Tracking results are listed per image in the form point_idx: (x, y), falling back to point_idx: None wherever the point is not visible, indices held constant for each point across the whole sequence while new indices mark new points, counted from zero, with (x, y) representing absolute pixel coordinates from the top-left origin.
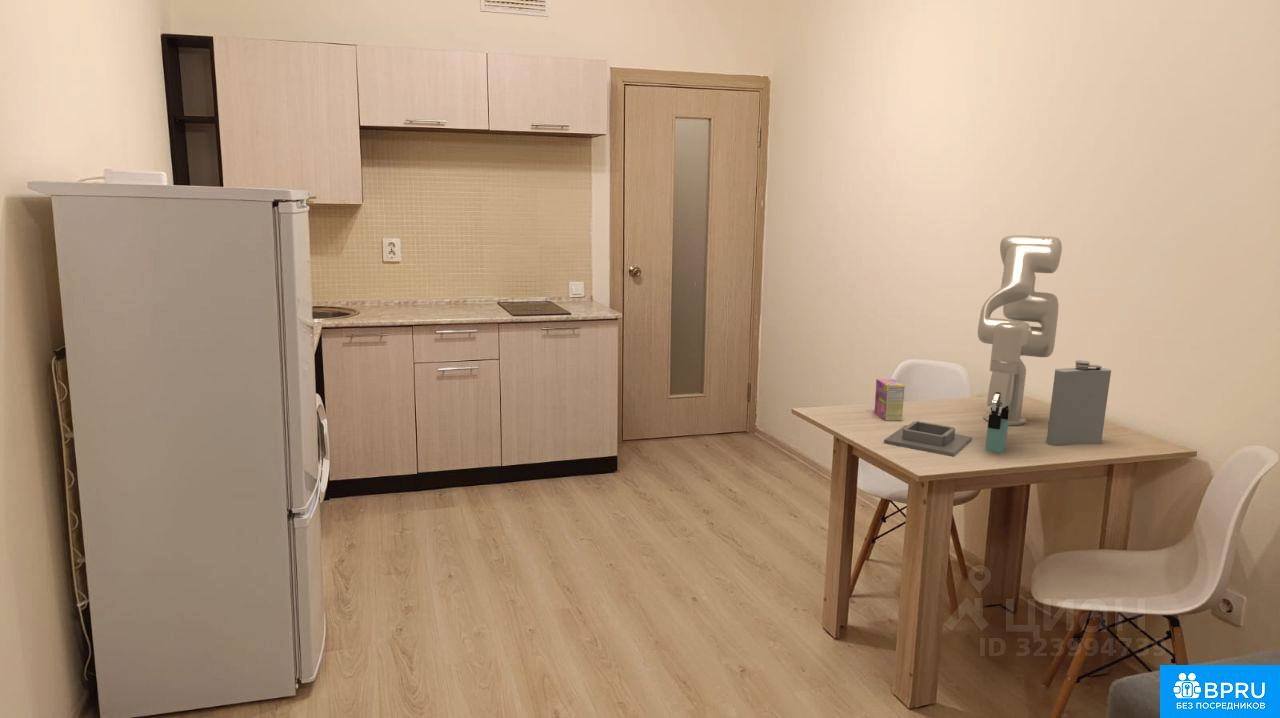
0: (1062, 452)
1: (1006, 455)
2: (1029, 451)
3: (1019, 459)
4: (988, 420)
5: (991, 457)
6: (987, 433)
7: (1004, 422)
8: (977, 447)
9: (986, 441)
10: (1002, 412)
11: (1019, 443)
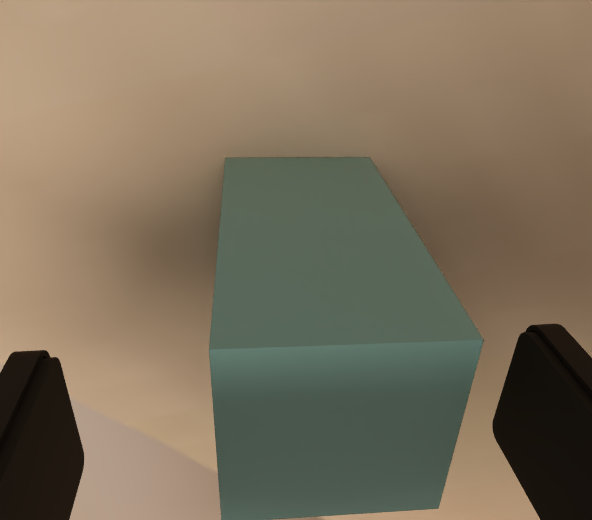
0: (487, 505)
1: (204, 316)
2: None
3: (170, 394)
4: (210, 349)
5: (53, 247)
6: (219, 241)
7: (254, 511)
8: (281, 73)
9: (222, 196)
10: (581, 503)
11: (589, 316)
